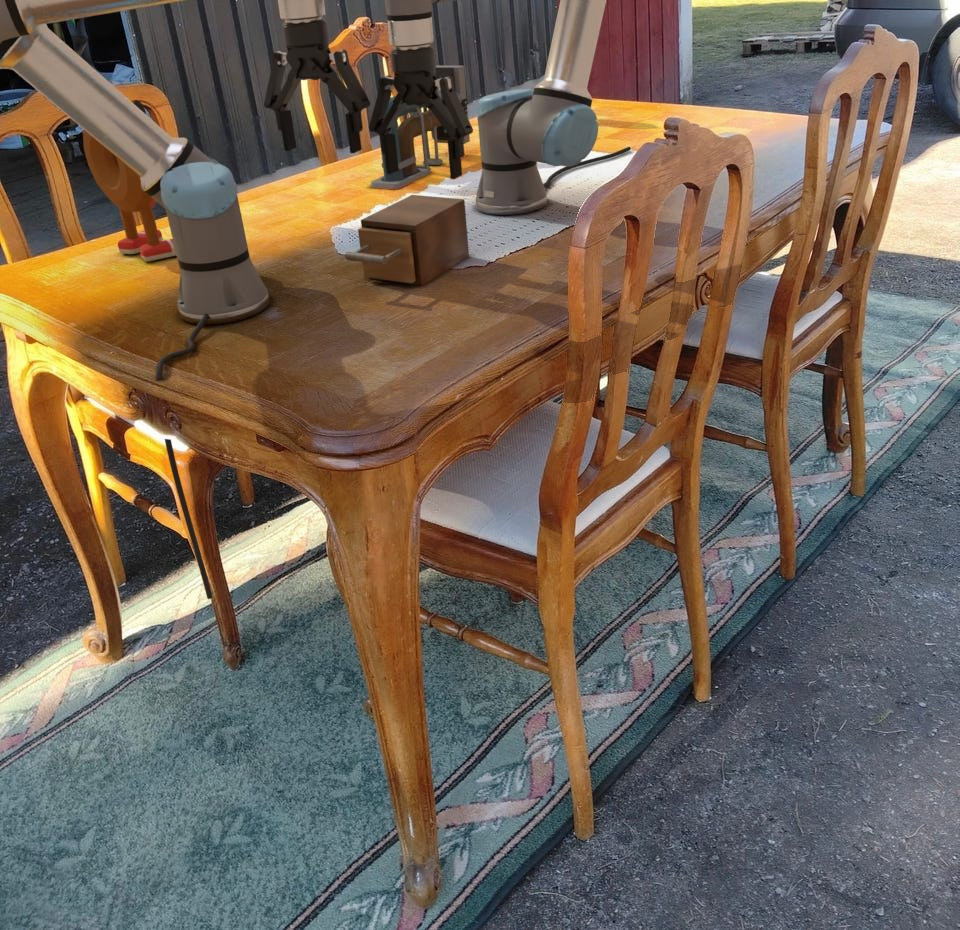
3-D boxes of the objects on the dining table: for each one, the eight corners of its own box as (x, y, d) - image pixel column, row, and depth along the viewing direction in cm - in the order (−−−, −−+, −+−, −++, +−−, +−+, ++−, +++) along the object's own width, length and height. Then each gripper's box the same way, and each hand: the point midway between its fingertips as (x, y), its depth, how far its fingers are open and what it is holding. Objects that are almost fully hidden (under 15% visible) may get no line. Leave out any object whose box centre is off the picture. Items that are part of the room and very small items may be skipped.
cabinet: (421, 285, 169) (415, 225, 163) (368, 278, 174) (360, 219, 169) (469, 256, 181) (464, 199, 175) (418, 250, 186) (411, 194, 181)
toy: (203, 253, 194) (168, 96, 179) (158, 268, 188) (118, 106, 172) (148, 236, 207) (111, 88, 192) (105, 250, 201) (62, 98, 186)
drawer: (392, 295, 163) (386, 245, 159) (344, 288, 168) (336, 239, 163) (457, 256, 178) (452, 209, 174) (410, 250, 183) (405, 205, 178)
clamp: (398, 189, 225) (386, 93, 214) (367, 187, 229) (354, 92, 218) (470, 153, 251) (464, 65, 240) (441, 151, 255) (433, 65, 244)
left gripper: (380, 15, 159) (394, 147, 170) (255, 18, 169) (276, 143, 179) (357, 21, 153) (373, 157, 164) (229, 24, 163) (252, 153, 174)
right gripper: (487, 43, 159) (494, 173, 170) (365, 43, 171) (379, 165, 181) (464, 50, 154) (473, 184, 164) (339, 49, 165) (355, 175, 176)
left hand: (322, 150), depth 172 cm, fingers open, 13 cm apart
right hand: (424, 174), depth 173 cm, fingers open, 13 cm apart
